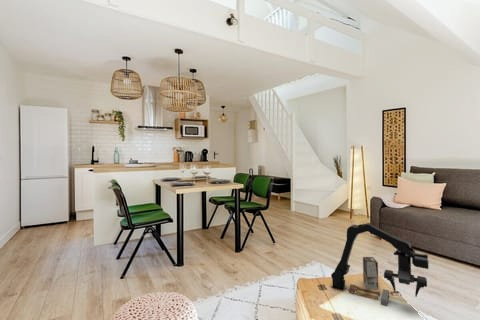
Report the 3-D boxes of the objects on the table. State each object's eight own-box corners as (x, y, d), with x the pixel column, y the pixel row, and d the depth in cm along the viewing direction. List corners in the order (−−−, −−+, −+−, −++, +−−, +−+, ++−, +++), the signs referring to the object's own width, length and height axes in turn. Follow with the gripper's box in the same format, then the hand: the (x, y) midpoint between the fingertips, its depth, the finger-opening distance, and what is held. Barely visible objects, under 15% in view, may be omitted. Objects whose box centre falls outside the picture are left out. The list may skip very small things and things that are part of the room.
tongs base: (348, 293, 148) (348, 288, 148) (351, 288, 153) (351, 284, 153) (378, 300, 139) (378, 296, 139) (379, 295, 145) (379, 290, 145)
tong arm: (349, 293, 148) (349, 286, 148) (350, 291, 149) (350, 285, 149) (378, 300, 139) (378, 293, 139) (378, 298, 141) (378, 292, 141)
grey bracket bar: (380, 304, 135) (380, 298, 135) (383, 294, 145) (383, 289, 145) (387, 306, 134) (387, 300, 134) (389, 296, 143) (389, 290, 143)
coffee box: (379, 289, 151) (378, 262, 151) (367, 289, 152) (366, 261, 152) (374, 282, 160) (373, 256, 160) (363, 281, 161) (362, 256, 161)
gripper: (382, 265, 133) (383, 295, 133) (426, 274, 122) (427, 306, 122) (384, 258, 142) (385, 286, 142) (426, 266, 131) (427, 296, 131)
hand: (405, 294), depth 134 cm, fingers open, 9 cm apart
